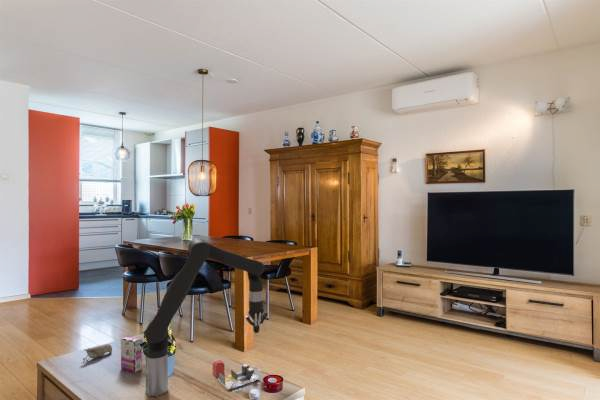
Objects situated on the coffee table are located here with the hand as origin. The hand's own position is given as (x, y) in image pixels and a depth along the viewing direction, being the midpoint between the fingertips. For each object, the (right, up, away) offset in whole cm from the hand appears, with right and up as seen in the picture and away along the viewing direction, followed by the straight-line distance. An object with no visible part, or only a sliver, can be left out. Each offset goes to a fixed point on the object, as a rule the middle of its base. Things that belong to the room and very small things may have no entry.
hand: (256, 332), depth 194 cm
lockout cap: (-19, -21, -2) cm, 28 cm away
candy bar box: (-67, -21, +5) cm, 70 cm away
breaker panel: (-8, -21, -9) cm, 24 cm away
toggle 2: (-2, -19, -8) cm, 21 cm away
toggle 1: (-5, -19, -4) cm, 20 cm away
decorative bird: (-93, -22, +20) cm, 97 cm away
